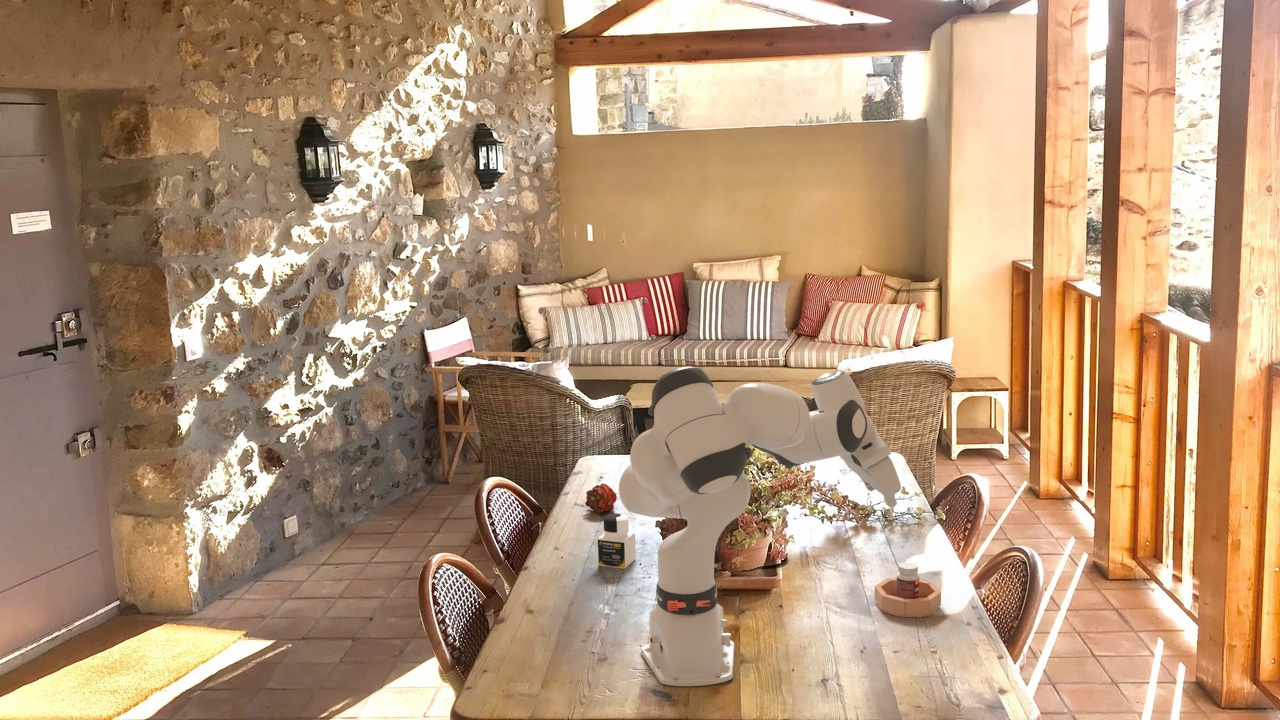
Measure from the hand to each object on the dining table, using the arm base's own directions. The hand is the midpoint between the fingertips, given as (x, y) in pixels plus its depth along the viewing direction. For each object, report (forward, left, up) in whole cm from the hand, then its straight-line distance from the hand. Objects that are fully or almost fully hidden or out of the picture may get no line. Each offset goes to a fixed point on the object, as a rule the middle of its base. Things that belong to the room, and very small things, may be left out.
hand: (882, 497), depth 226 cm
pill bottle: (+7, -8, -27) cm, 29 cm away
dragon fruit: (+84, +55, -27) cm, 104 cm away
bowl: (+7, -8, -27) cm, 29 cm away
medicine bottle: (+43, +53, -27) cm, 74 cm away
